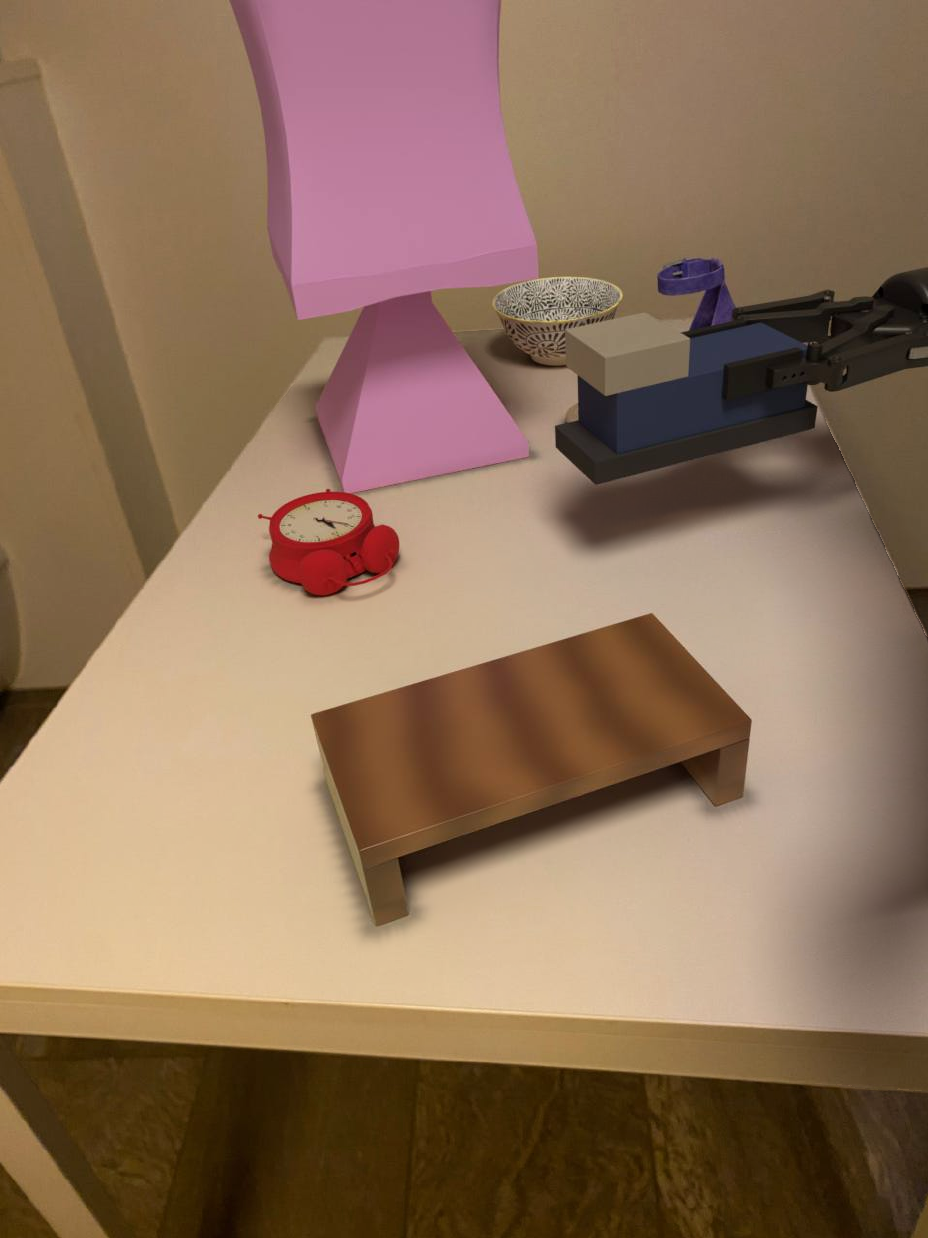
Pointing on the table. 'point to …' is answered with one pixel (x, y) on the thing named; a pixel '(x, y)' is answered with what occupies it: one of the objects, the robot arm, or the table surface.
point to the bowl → (553, 312)
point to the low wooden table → (521, 743)
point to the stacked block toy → (669, 396)
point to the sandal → (687, 281)
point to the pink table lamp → (391, 216)
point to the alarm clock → (329, 541)
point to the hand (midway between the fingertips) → (699, 366)
